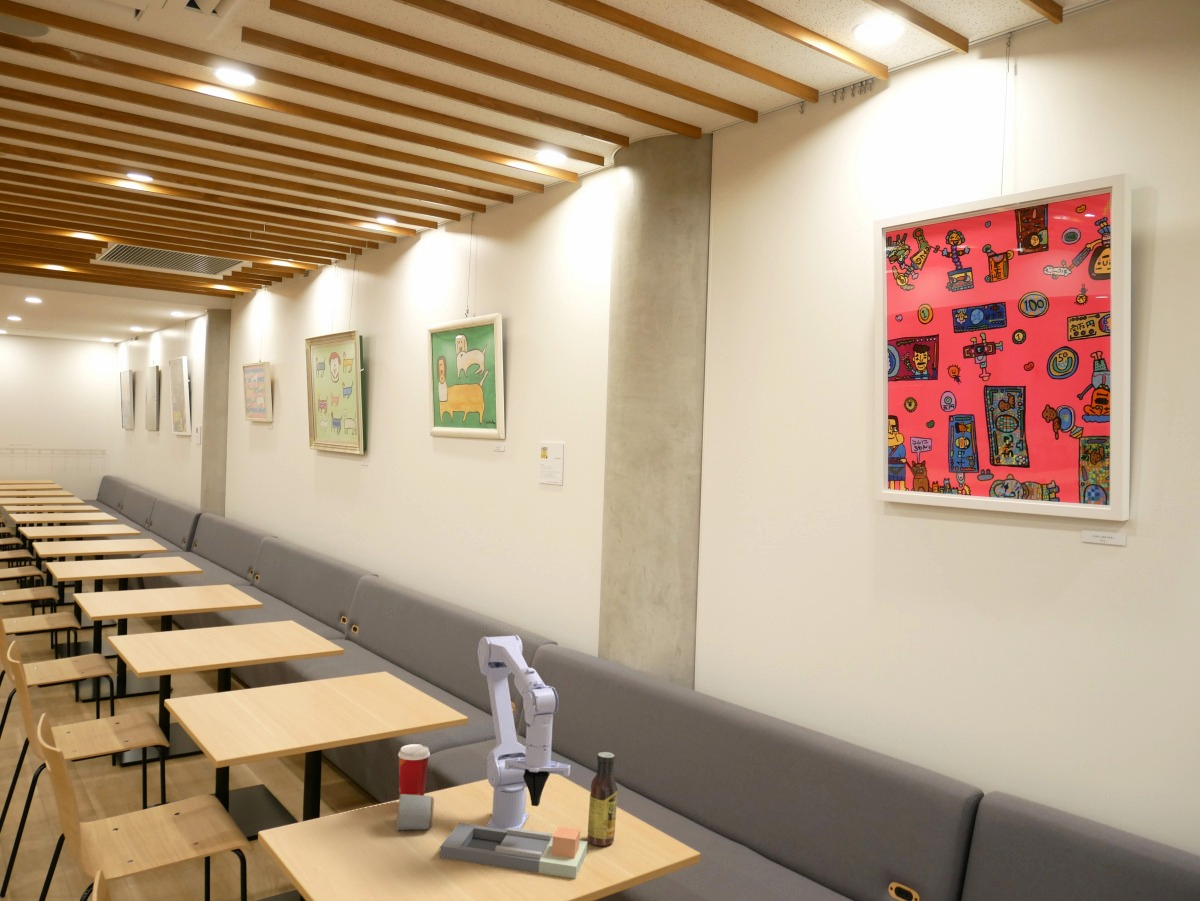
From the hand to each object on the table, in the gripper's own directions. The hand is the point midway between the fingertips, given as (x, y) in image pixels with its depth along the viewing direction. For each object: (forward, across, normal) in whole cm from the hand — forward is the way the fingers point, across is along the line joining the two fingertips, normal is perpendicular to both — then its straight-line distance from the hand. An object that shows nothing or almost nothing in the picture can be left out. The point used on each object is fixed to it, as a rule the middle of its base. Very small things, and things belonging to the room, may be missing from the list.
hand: (535, 804), depth 193 cm
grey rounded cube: (+10, -30, +4) cm, 32 cm away
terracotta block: (+8, +8, -3) cm, 12 cm away
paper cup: (+10, -34, +14) cm, 38 cm away
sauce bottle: (+11, +14, +10) cm, 20 cm away
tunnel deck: (+10, -4, -3) cm, 11 cm away
